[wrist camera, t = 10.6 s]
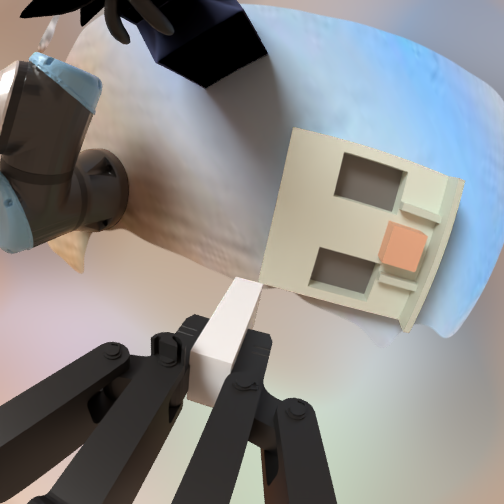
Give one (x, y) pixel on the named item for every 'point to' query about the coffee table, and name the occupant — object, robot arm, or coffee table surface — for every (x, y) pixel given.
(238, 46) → the vase
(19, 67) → the robot arm
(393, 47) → the coffee table surface
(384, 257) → the block
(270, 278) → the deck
